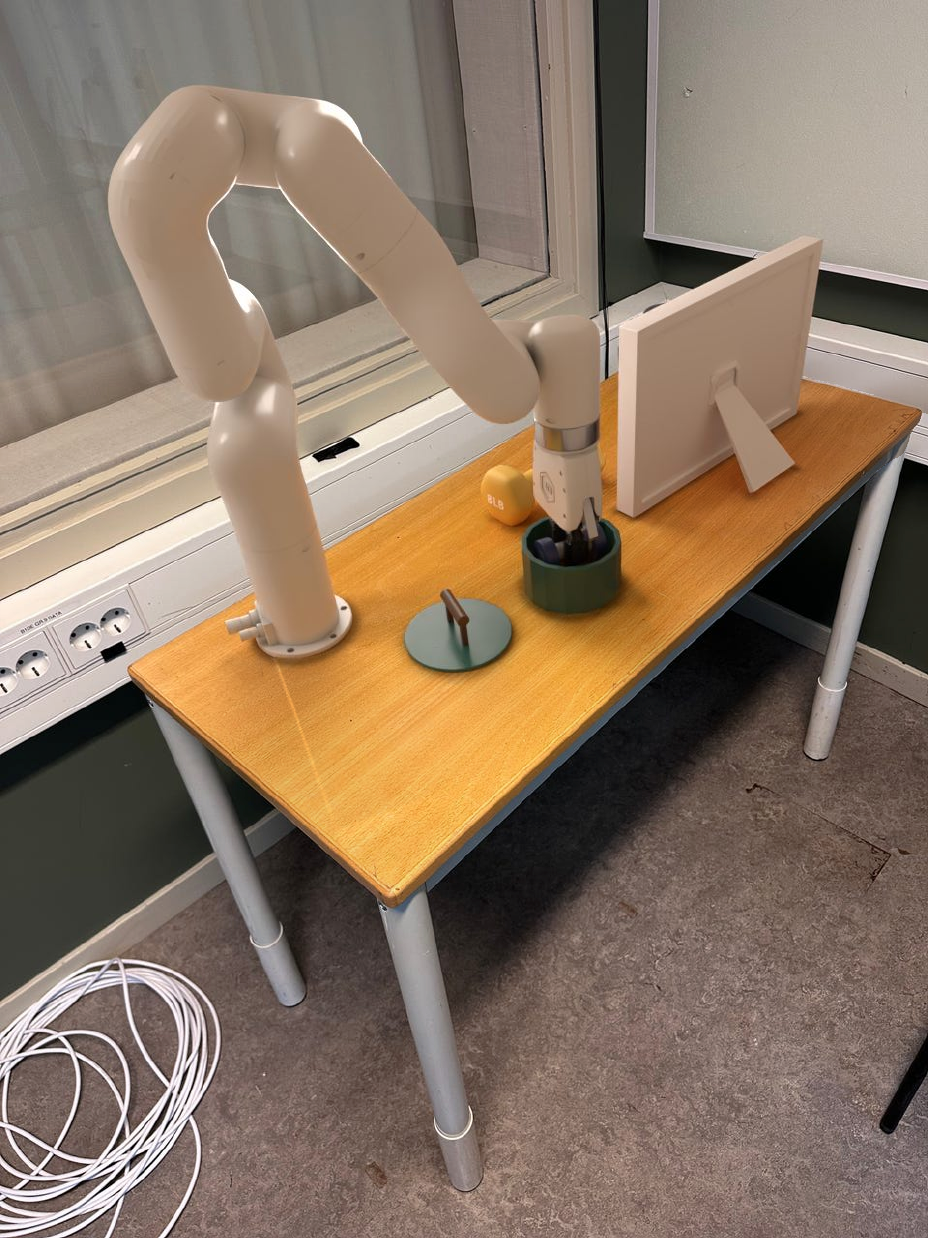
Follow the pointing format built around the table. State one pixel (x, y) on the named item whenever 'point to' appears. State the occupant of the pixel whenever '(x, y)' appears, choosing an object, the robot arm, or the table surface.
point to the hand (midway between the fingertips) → (570, 556)
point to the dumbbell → (513, 492)
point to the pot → (571, 574)
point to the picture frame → (714, 376)
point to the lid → (458, 634)
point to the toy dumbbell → (555, 552)
